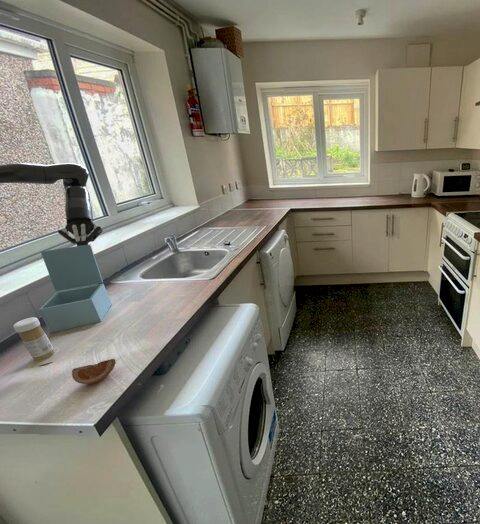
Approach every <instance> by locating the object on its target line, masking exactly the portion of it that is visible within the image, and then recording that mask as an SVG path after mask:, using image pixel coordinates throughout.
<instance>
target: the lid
mask: <svg viewBox="0 0 480 524" xmlns="http://www.w3.org/2000/svg"><path fill="white" fill-rule="evenodd" d="M40 254H41V257H42V260H43V262H44V265H45V267H46V269H47V273H48V276H49V278H50V280H51V283H52V285H53V289H54V292H60V291H66V290H71V289H77V288H82V287H87V286H93V285H98V284H103V282H104V280H103V277H102V274H101V271H100V268H99V265H98V263H97V260H96V256H95V253H94V250H93V247H92V245H91V243H90V244H89V243H88V245H82V246H77V245H76V246H69V247H62V248H61V247H60V248H55V249H49V250H41V251H40Z"/></svg>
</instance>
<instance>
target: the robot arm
mask: <svg viewBox="0 0 480 524" xmlns="http://www.w3.org/2000/svg"><path fill="white" fill-rule="evenodd" d="M89 177H90V172H89V170H88V169H87V168H86V167H85V166H83V165H81V164H78V163H70V162H67V163H55V164H39V163H37V164H36V163H25V162H24V163H22V162H21V163H18V162H17V163H8V164H0V184H31V185H32V184H33V185H54V184H56V183H57V181H61V180H62V186H63V190H64V196H65V197H64V199H65V204H64V211H65V221H66V225H64V228H63V229H59V230H58V231H57V233H58V234H59V235H60V236H61V237H63V238H64V239H66V240H67V241H68V242H69V243H71V244H73V245H75V244H76V246H82V245H89V243H91V242H95V241H96V239H97V238H98V237H99V236H100V235H101V234H102V233H103V231H104V229H102V227H101V226H97V225H96V224H95V223H94V216H93V215H94V214H93V207H92V204H91V195H90V192H89V190H88V189H87V183H88V179H89ZM69 233H70V234H72V236H74V238H73V237H71V235H70V234H69Z"/></svg>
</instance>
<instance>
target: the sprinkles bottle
mask: <svg viewBox="0 0 480 524" xmlns="http://www.w3.org/2000/svg"><path fill="white" fill-rule="evenodd" d="M12 327H13V329H14V331H15V332H16V333H17V334H18V336H19V338H20V340H21V341H22V343H23V345H24V346H25V348H26V350H27V351H28V353H29V355H30V356H31V357H32V359H33V361H34V362H41V361H45V360H47V359H49V358H51V357H53V356H54V355H55V353H56V351H55V349H54V346H53V345H52V343H51V341H50V340H49V338H48V336H47V334H46V332H45V331H44V330H43V327H42V326H41V322H40V320H39V319H38V318H37V317H35V316H33V317H27V318H23V319H21V320H18V321H17V322H15V323H14V324H13V326H12ZM52 363H53V361H51V362H46V363H43V364H39V365H38V367H44V366H47V365H50V364H52Z"/></svg>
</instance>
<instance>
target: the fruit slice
mask: <svg viewBox="0 0 480 524" xmlns="http://www.w3.org/2000/svg"><path fill="white" fill-rule="evenodd" d="M116 364H117V361H116V359H115V358H111V359H107V360H103V361H100V362H97V363H94V364H87V365H84V366H79V367H75V368H73V369H72V370H71V376H72V379H73V381H74V382H76V383H78V384H82V385H91V384H96V383H99V382H101V381H103V380H104V379H106V378H107V377H108V376H109V375H110V374H111V373H112V371H113V370H114V369H115V367H116Z"/></svg>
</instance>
